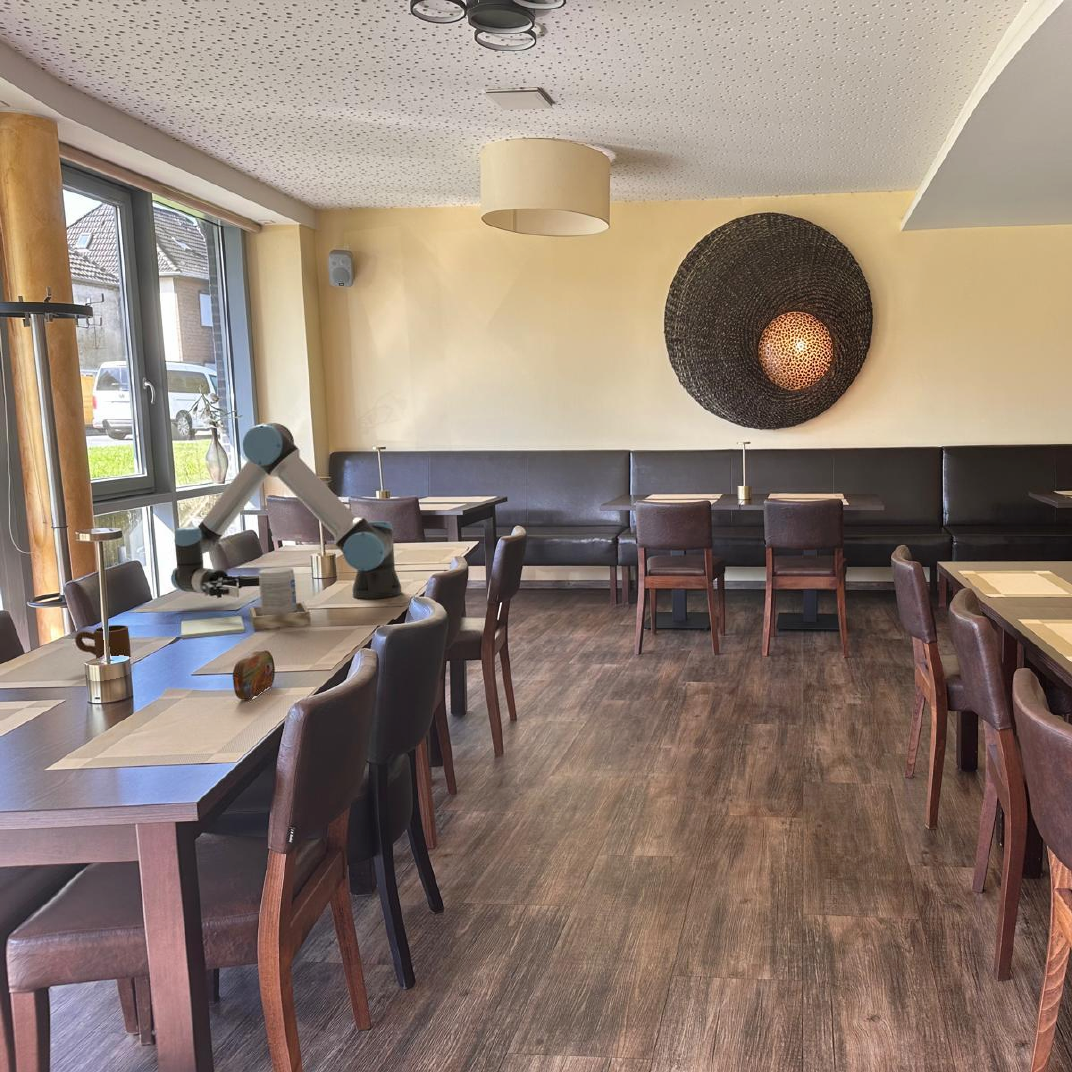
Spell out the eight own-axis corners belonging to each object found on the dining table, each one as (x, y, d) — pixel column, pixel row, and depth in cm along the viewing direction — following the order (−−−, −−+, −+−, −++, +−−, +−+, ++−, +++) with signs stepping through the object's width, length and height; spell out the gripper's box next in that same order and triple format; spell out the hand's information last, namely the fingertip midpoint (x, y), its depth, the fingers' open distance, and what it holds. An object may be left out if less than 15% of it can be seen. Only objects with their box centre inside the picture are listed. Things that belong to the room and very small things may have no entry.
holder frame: (304, 614, 295) (303, 602, 295) (310, 624, 281) (309, 611, 281) (250, 619, 290) (249, 607, 290) (253, 630, 276) (252, 617, 276)
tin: (246, 705, 208) (243, 664, 207) (231, 704, 209) (228, 664, 207) (277, 684, 223) (274, 646, 222) (263, 683, 223) (261, 646, 222)
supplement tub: (302, 622, 284) (299, 570, 282) (269, 627, 279) (265, 574, 277) (290, 616, 292) (286, 565, 290) (257, 621, 287) (253, 569, 285)
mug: (72, 674, 237) (69, 634, 236) (83, 665, 244) (79, 627, 243) (126, 670, 238) (123, 631, 237) (135, 662, 246) (132, 623, 244)
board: (241, 619, 291) (241, 615, 291) (244, 632, 274) (244, 628, 274) (181, 624, 286) (181, 621, 286) (181, 638, 269) (181, 634, 269)
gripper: (246, 587, 312) (293, 593, 300) (175, 602, 292) (221, 609, 280) (245, 563, 311) (291, 568, 299) (173, 576, 291) (219, 582, 279)
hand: (257, 588), depth 289 cm, fingers open, 13 cm apart
